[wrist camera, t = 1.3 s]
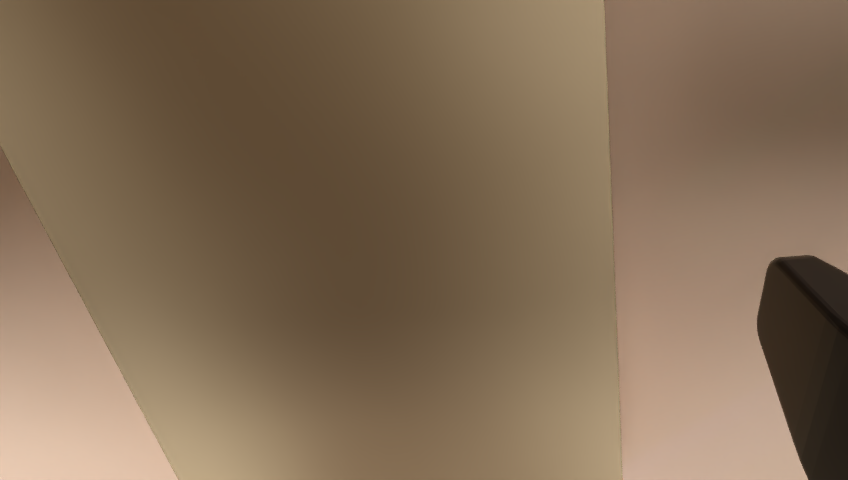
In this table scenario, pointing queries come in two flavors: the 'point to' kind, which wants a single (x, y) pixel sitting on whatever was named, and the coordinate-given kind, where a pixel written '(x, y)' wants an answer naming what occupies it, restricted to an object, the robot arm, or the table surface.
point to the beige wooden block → (334, 226)
